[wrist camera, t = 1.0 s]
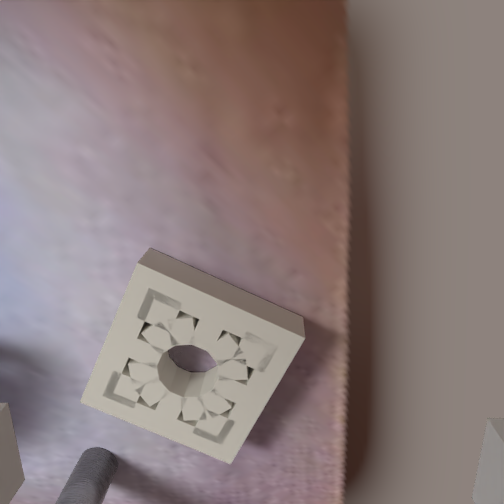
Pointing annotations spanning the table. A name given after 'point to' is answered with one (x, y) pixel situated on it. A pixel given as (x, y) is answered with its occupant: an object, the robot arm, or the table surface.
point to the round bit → (90, 478)
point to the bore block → (202, 336)
